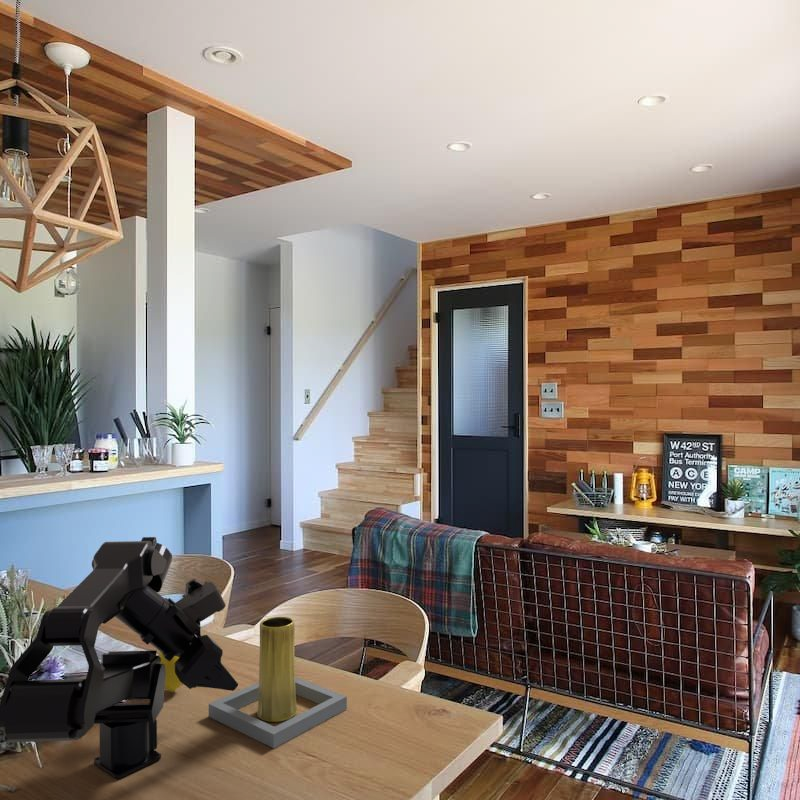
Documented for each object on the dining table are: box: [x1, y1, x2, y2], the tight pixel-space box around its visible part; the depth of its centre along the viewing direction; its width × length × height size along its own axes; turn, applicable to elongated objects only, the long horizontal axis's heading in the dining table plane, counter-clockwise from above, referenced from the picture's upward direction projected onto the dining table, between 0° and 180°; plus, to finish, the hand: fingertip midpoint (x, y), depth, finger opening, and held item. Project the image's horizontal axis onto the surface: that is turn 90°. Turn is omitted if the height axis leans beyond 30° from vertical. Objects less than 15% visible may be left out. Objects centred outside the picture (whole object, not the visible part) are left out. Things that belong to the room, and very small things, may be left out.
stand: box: [208, 676, 348, 749], centre depth 106 cm, size 15×15×2 cm
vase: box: [256, 616, 298, 723], centre depth 106 cm, size 6×6×14 cm
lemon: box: [158, 651, 184, 693], centre depth 114 cm, size 6×6×8 cm
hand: (227, 675), depth 102 cm, fingers open, 9 cm apart
